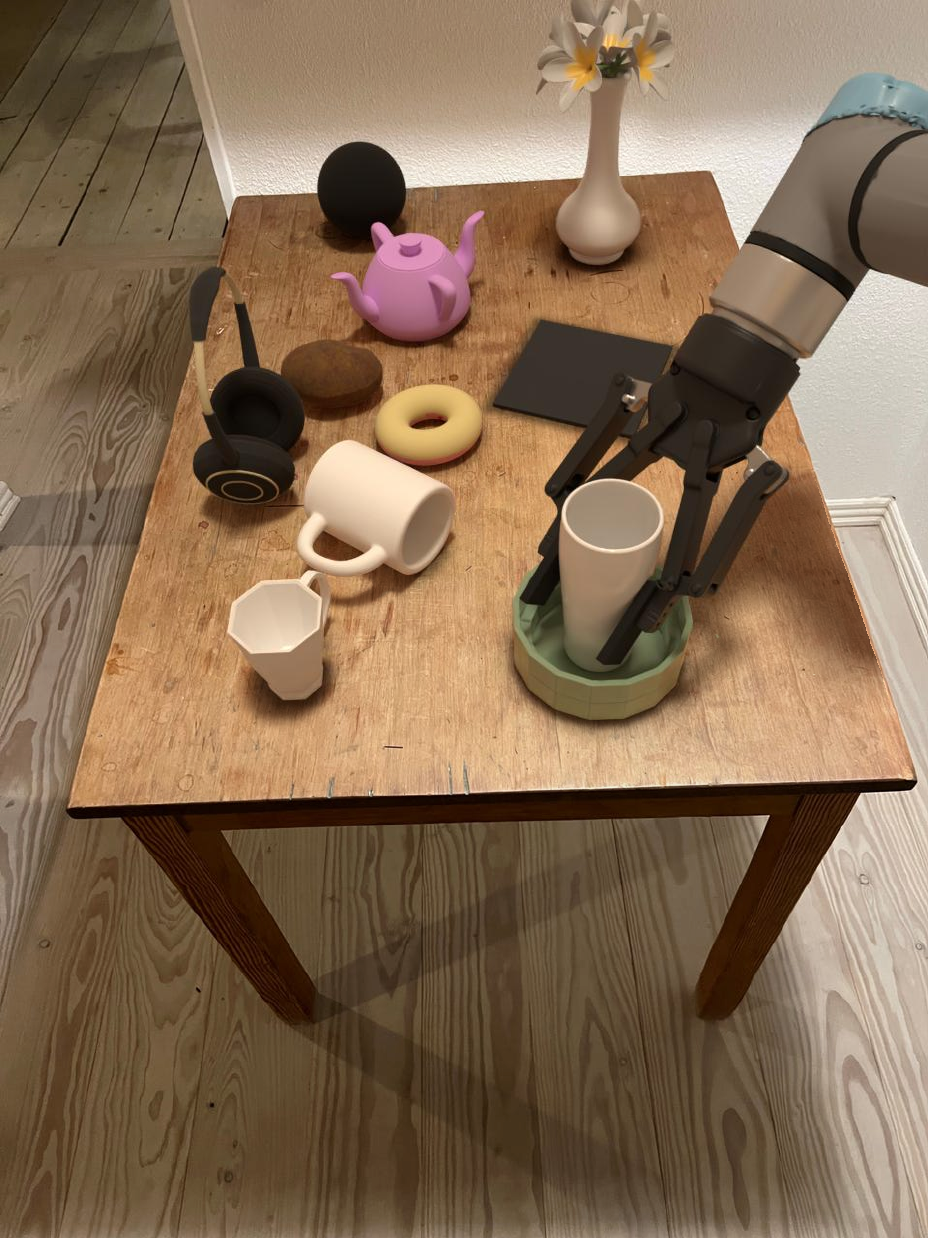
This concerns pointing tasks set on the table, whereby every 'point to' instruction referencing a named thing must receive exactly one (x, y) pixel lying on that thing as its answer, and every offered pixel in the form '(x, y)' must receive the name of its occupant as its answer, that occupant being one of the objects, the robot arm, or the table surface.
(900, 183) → the robot arm
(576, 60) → the flower vase
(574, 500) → the drinking glass
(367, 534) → the mug
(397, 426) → the donut
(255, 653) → the cup
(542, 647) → the bowl
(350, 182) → the decorative ball
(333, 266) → the table surface
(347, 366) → the potato
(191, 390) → the table surface
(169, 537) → the table surface
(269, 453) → the headphones
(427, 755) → the table surface
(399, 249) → the teapot
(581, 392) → the mat
